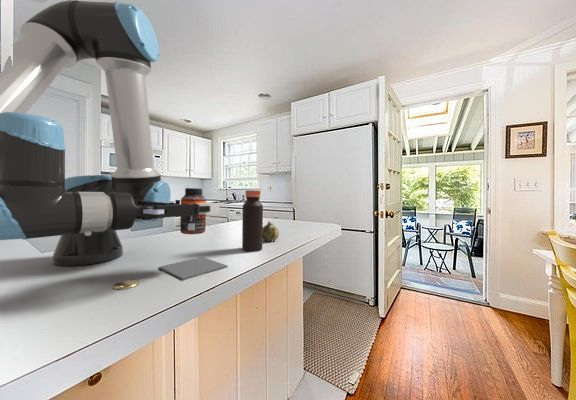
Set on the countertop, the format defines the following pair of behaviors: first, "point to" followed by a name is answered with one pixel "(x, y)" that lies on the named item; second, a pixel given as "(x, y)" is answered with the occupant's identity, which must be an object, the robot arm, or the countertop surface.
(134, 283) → the brass marker
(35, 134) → the robot arm
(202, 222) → the supplement bottle
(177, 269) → the rubber mat
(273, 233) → the onion
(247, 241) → the vinegar
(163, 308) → the countertop surface
